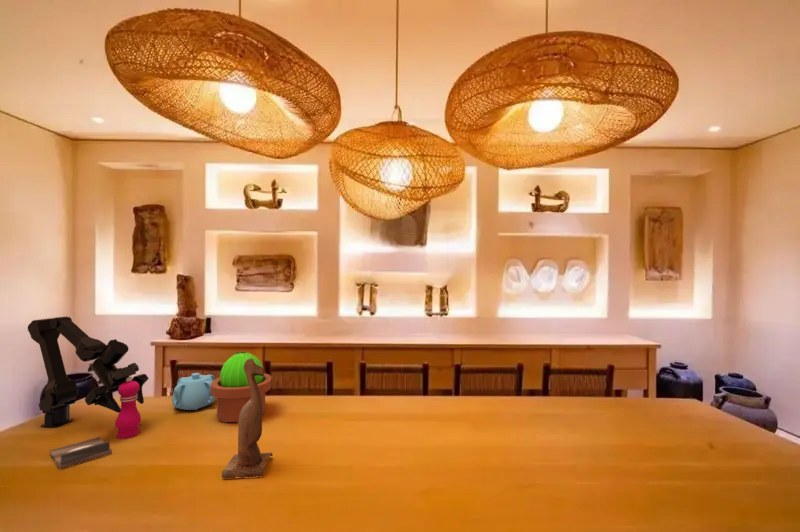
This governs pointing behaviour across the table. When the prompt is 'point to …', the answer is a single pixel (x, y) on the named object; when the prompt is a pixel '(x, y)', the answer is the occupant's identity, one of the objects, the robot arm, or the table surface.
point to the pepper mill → (128, 410)
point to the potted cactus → (236, 387)
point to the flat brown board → (80, 452)
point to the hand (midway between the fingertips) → (131, 407)
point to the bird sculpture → (249, 431)
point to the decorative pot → (193, 392)
